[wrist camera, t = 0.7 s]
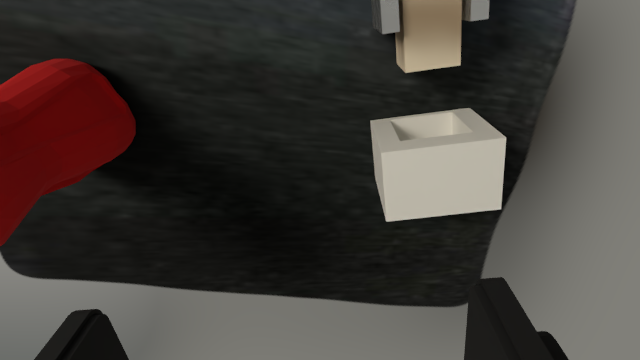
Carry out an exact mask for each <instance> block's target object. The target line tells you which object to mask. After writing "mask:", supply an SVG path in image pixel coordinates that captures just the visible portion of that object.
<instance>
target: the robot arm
mask: <svg viewBox="0 0 640 360" xmlns="http://www.w3.org/2000/svg"><path fill="white" fill-rule="evenodd" d="M34 360H129V359H128V357H127V355H126V353H125V351H124V349H123V347H122V345H121V343H120V341H119V339H118V337H117V334H116V332H115V330H114V328H113V326H112V324H111V322H110V320H109V318H108V317H107V316H106V315H105V314H103V313H102V312H101V311H100V310H98V309H91V310H78V311H74V312H72V313H71V314H70V315H69V316H68V317H67V318H66V319H65V321H64V322H63V323H62V325H61V326H60V327H59V328H58V330H57V331H56V332H55V334H54V335H53V336H52V338H51V339H50V340H49V341H48V343H47V344H46V345H45V346H44V348H43V349H42V350H41V352H40V353H39V354H38V355H37V357H36V358H35V359H34ZM464 360H568V358H567V356H566V355H565V353H564V352H563V350H562V349H561V347H560V346H559V344H558V343H557V341H556V340H555V339H554V337H553V336H552V335H551V334H550V333H548V332H545V331H541V332H537V331H536V330H535V328H534V326H533V325H532V323H531V322H530V320H529V318H528V317H527V315H526V313H525V312H524V310H523V308H522V307H521V305H520V303H519V302H518V300H517V299H516V297H515V295H514V294H513V292H512V291H511V289H510V287H509V286H508V284H507V282H506V281H505V279H504V278H502V277H500V278H487V279H478V280H477V283H476V285H475V286H470V289H469V301H468V314H467V327H466V341H465V354H464Z"/></svg>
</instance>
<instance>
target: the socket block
mask: <svg viewBox="0 0 640 360" xmlns="http://www.w3.org/2000/svg"><path fill="white" fill-rule="evenodd" d="M370 123H371V134H372V146H373V157H374V169H375V179H376V183H377V187H378V191H379V195H380V199H381V203H382V207H383V211H384V214H385V218H386V222H388V221H397V220H407V219H416V218H425V217H434V216H444V215H453V214H462V213H471V212H480V211H490V210H499V209H501V204H502V190H503V177H504V163H505V149H506V137H505V136H504V135H502V134H501V133H500V132H499V131H498V130H496V129H495V128H494V127H493V126H491V125H490V124H489V123H488V122H486V121H485V120H484V119H483V118H482V117H480V116H479V115H478V114H477V113H475V112H474V111H473V110H472V109H470V108H465V109H457V110H449V111H441V112H433V113H426V114H418V115H410V116H402V117H395V118H387V119H379V120H371V121H370Z"/></svg>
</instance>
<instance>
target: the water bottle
mask: <svg viewBox="0 0 640 360" xmlns="http://www.w3.org/2000/svg"><path fill="white" fill-rule="evenodd" d="M135 134H136V121H135V119H134V117H133V115H132V113H131V111H130V109H129V107H128V104H127V103H126V102H125V101H124V100H123V98H122V97H121V96H120V95H119V94H118V93H117V92H116V91H115V90H114V88H113V87H112V85H111V84H110V83H109V81H108V80H107V78H106V77H105V76H103V75H102V74H101V73H100V72H98V71H97V70H96V69H94V68H93V67H92V66H91V65H89V64H87V63H84V62H80V61H77V60H73V59H52V60H48V61H45V62H42V63H38V64H35V65H32V66H30V67H28V68H27V69H25V70H23V71H22V72H20V73H19V74H17V75H16V76H14V77H12V78H11V79H9V80H8V81H6V82H5V83H3V84H1V85H0V246H1V245H3V244H4V243H5V242H6V240H7V239H8V238H9V236H10V235H11V234H12V233H13V231H14V230H15V229H16V227H17V226H18V225H19V223H20V222H21V221H22V219H23V218H24V217H25V216H26V214H27V213H28V212H29V210H30V209H31V208H32V206H33V205H34V204H35V202H36V201H37V200H38V199H39V197H40V196H42V195H44V194H47V193H50V192H52V191H55V190H58V189H61V188H63V187H66V186H69V185H71V184H74V183H77V182H78V181H80V180H81V179H82V178H84V177H85V176H86V175H88V174H89V173H90V172H92V171H93V170H95V169H97V168H98V167H100V166H102V165H103V164H105V163H107V162H109V161H111V160H113V159H114V158H116V157H117V156H118V155H120V154H121V153H123V152H124V151H125V150H126V149H127V148H128V146H129V145H130V144H131V143H132V141H133V139H134V136H135Z"/></svg>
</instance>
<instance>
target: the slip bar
mask: <svg viewBox="0 0 640 360" xmlns="http://www.w3.org/2000/svg"><path fill="white" fill-rule="evenodd" d="M398 4H399V25H400V32H395V36H396V55H397V64H398V66H399V67H400V68H401V69H402V70H403V71H404V72H405V73H408V72H416V71H423V70H430V69H438V68H445V67H452V66H460V65H461V17H462V0H398Z"/></svg>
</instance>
